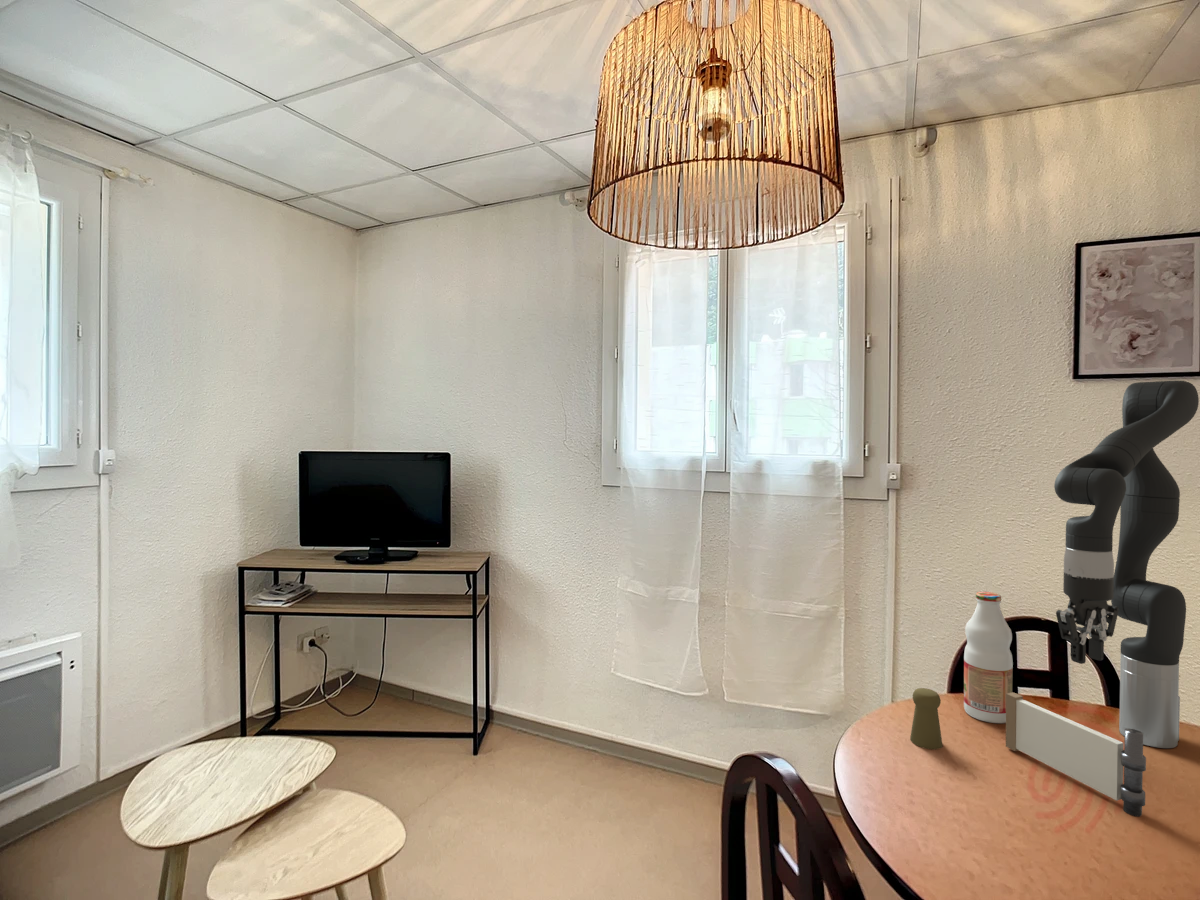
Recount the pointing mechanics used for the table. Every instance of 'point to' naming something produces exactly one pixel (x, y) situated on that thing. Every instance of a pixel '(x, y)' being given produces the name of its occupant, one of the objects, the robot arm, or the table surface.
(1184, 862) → the table surface
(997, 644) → the fruit juice
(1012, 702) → the gate
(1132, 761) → the gate post
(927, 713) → the olive green pawn
